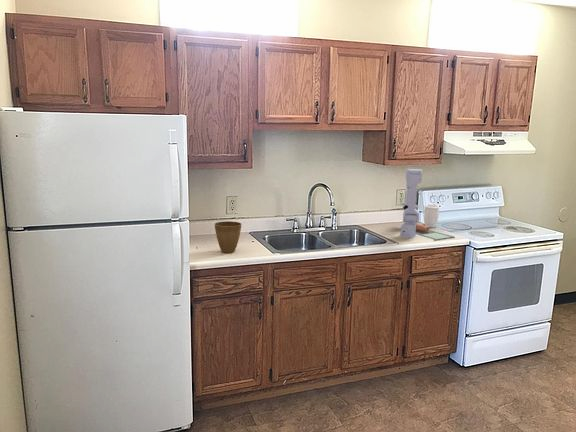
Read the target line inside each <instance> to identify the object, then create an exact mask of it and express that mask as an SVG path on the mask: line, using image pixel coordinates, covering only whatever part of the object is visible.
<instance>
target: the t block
mask: <svg viewBox="0 0 576 432" xmlns="http://www.w3.org/2000/svg"><path fill="white" fill-rule="evenodd" d="M430 228H431V227H427V226H425V223H422V222H418V223H417V224H416V231H418V232H421V233H429V230H431V229H430Z"/></svg>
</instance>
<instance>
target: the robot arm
mask: <svg viewBox="0 0 576 432" xmlns="http://www.w3.org/2000/svg"><path fill="white" fill-rule="evenodd" d="M422 179H423V169H422V168H418V169H417V168H406V171H405V181H406V187H405V188H406V194H405V202H403V201H402V202H401V206H403V208H402V209H403V214H402V222H403V224H401V226H400V230H399V231H400V232H399V235H398V236H399V237H401V238H405V239H410V238H417V237H419V235H417V234H415V233H416V224H417V223H420V222H419V220H420V212H419V210H418V209H419V205H418V204H416V201H417V191H418V185H419V184H421V183H422Z"/></svg>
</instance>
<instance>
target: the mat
mask: <svg viewBox="0 0 576 432" xmlns="http://www.w3.org/2000/svg"><path fill="white" fill-rule="evenodd" d="M415 235H416V236H421V237H425V238H427V239H432V240H433V241H434V242H435V241H442V240H448V239H455V236H453V235H449V234H445V233H443V232H439V231H435V230H431V229H429V233H421V232H418V231H416V233H415Z"/></svg>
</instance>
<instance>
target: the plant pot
mask: <svg viewBox="0 0 576 432" xmlns="http://www.w3.org/2000/svg"><path fill="white" fill-rule="evenodd" d="M241 229H242V223H241V222H238V221H230V220H228V221H227V220H225V221H217V222H216V223H214V230H215V234H216V240H217V243H218V246H219V248H220V251H221V253H223V254H234V253H235V251H236V249H237V246H238V244H239V239H240V237H241V231H242V230H241Z"/></svg>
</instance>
